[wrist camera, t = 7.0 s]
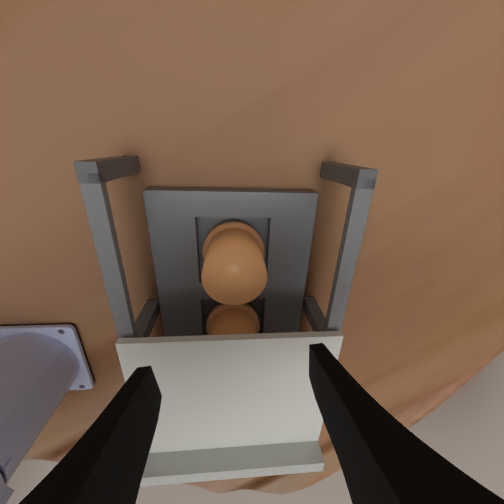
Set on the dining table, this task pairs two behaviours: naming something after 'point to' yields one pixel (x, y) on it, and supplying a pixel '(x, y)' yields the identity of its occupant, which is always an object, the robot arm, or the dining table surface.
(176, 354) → the lid
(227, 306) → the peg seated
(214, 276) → the brown round cylinder
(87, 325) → the dining table surface
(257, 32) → the dining table surface
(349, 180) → the grey base stand
